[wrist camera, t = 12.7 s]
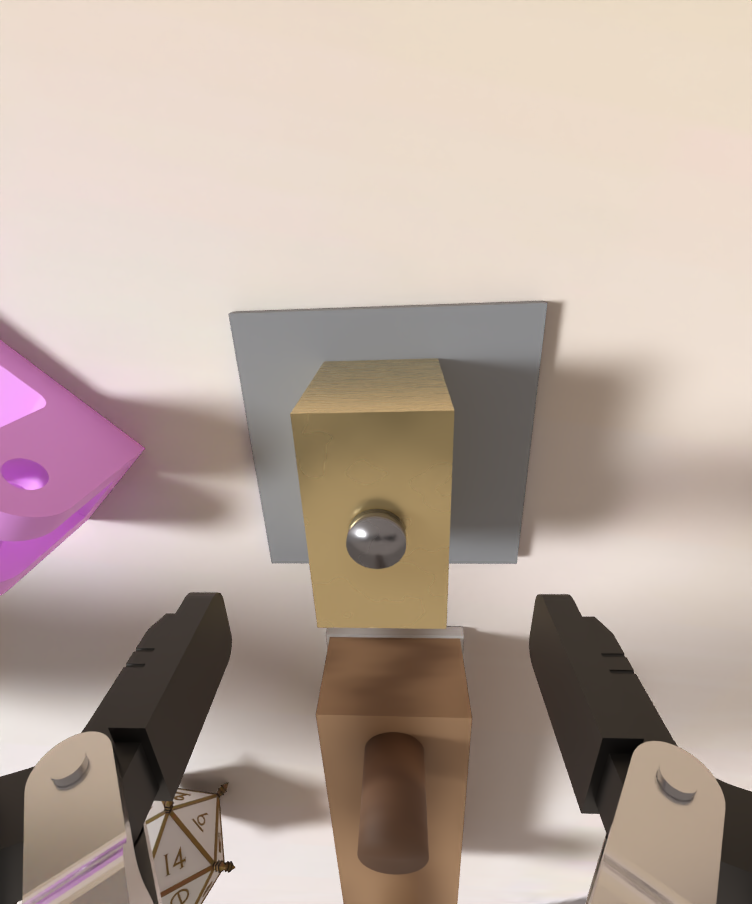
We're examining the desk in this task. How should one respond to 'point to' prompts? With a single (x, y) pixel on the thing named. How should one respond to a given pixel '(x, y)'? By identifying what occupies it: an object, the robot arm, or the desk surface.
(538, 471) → the desk surface
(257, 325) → the mat
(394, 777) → the plane body
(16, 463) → the bracket
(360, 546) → the lever cap
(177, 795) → the game die
